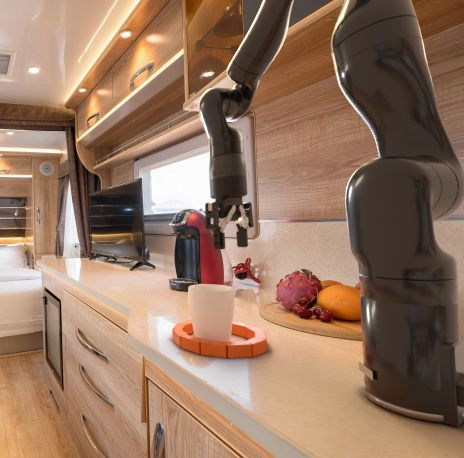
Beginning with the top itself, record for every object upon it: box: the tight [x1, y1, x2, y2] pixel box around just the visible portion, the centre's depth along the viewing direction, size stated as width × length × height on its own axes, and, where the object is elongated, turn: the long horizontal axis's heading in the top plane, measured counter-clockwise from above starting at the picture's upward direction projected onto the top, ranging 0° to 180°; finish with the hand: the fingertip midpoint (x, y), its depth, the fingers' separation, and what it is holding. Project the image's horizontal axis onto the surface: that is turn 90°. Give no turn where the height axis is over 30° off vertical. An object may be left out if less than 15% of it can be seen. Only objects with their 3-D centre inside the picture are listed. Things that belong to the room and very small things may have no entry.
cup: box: [187, 283, 236, 342], centre depth 70 cm, size 9×9×12 cm
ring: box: [171, 319, 268, 359], centre depth 71 cm, size 18×18×2 cm
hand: (231, 248), depth 75 cm, fingers open, 8 cm apart
